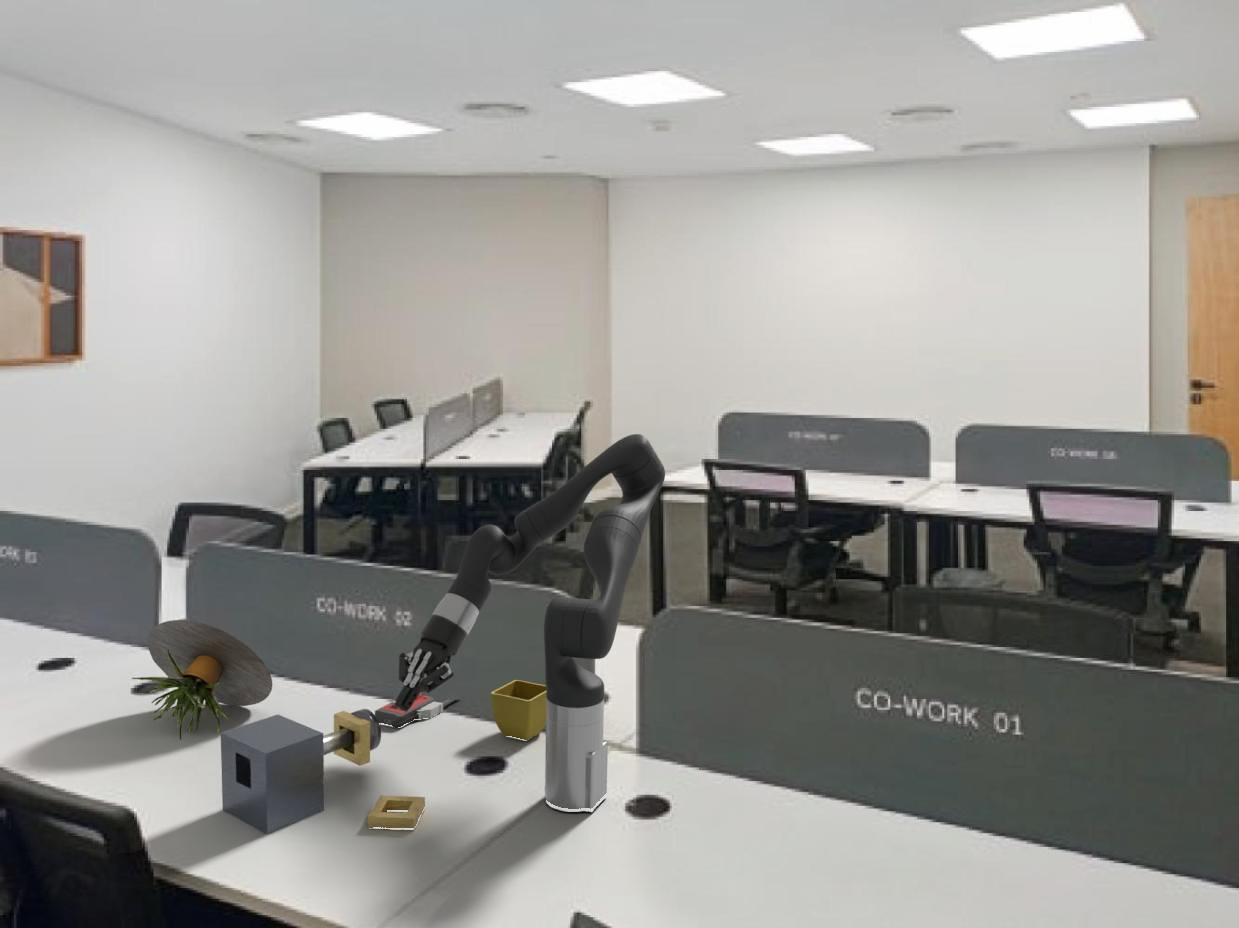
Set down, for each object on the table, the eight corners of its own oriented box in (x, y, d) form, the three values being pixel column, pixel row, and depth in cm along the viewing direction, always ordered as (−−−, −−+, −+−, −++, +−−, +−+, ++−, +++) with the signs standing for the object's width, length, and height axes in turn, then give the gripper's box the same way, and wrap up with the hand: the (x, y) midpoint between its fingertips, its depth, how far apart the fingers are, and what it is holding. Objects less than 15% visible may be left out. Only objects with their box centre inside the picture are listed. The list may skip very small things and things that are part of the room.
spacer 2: (425, 809, 154) (425, 797, 154) (413, 831, 147) (413, 818, 147) (380, 807, 155) (380, 795, 154) (367, 829, 148) (367, 816, 147)
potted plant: (135, 749, 191) (77, 687, 172) (185, 671, 202) (135, 605, 183) (248, 780, 186) (201, 719, 167) (293, 698, 197) (253, 632, 178)
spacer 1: (343, 750, 167) (343, 710, 166) (370, 762, 163) (370, 721, 162) (333, 753, 166) (333, 714, 165) (360, 765, 161) (360, 725, 161)
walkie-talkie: (405, 735, 184) (465, 701, 202) (405, 712, 184) (465, 681, 202) (368, 726, 188) (430, 694, 206) (367, 704, 187) (430, 674, 205)
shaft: (354, 743, 169) (354, 704, 168) (381, 754, 165) (380, 714, 164) (249, 782, 153) (248, 739, 152) (276, 796, 149) (275, 751, 148)
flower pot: (489, 738, 182) (489, 692, 181) (515, 723, 190) (515, 678, 189) (528, 748, 178) (529, 701, 177) (554, 732, 186) (554, 686, 185)
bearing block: (279, 787, 160) (277, 714, 159) (324, 809, 153) (323, 733, 152) (222, 809, 153) (220, 732, 151) (267, 834, 145) (265, 753, 144)
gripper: (486, 641, 178) (437, 727, 170) (437, 627, 186) (388, 709, 179) (464, 620, 173) (412, 707, 166) (414, 607, 181) (363, 690, 174)
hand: (400, 708), depth 172 cm, fingers closed
